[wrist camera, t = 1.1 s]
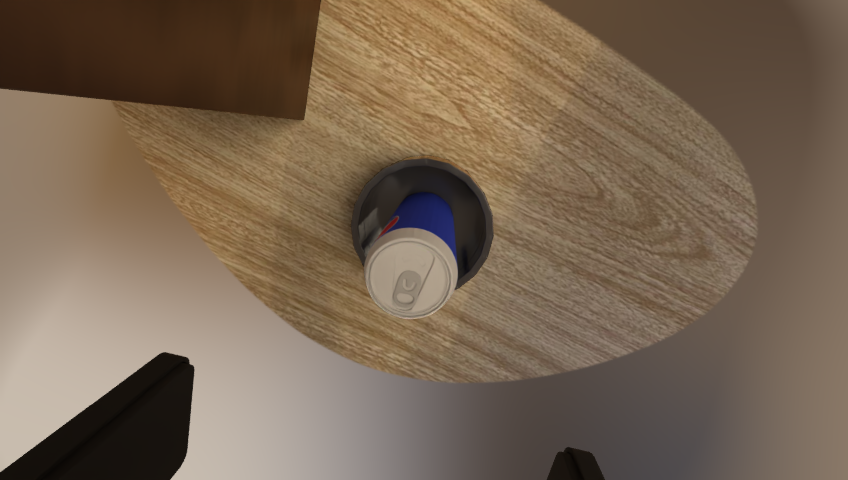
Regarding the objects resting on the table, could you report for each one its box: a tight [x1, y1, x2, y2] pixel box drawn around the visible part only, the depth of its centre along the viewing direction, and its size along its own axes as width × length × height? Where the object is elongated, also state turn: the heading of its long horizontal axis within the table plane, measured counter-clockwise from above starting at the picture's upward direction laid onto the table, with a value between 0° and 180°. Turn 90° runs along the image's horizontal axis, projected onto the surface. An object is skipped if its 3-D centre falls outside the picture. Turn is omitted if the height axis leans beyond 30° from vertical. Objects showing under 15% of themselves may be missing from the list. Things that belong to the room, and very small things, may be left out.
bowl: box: [351, 155, 494, 290], centre depth 33 cm, size 11×11×4 cm
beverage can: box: [364, 192, 458, 319], centre depth 28 cm, size 5×5×15 cm
